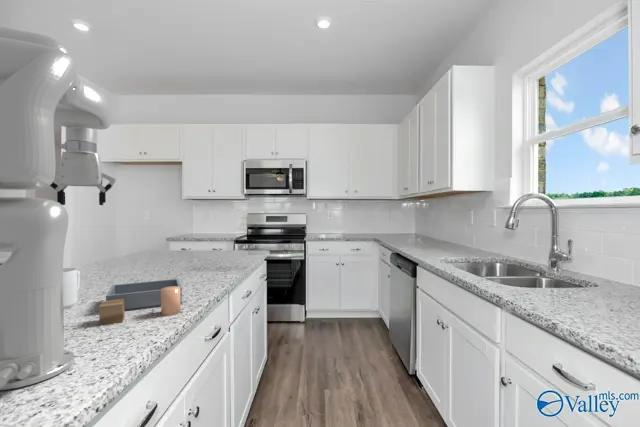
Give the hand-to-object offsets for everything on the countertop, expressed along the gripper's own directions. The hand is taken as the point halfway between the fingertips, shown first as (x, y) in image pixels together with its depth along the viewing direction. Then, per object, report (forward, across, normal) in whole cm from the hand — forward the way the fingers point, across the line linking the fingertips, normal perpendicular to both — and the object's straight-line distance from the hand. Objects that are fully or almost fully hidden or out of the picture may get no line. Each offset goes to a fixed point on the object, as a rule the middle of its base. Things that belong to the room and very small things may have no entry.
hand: (82, 205), depth 96 cm
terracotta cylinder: (+31, +24, -21) cm, 44 cm away
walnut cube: (+31, +10, -21) cm, 39 cm away
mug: (+31, -5, +2) cm, 32 cm away
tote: (+31, +17, -6) cm, 36 cm away
